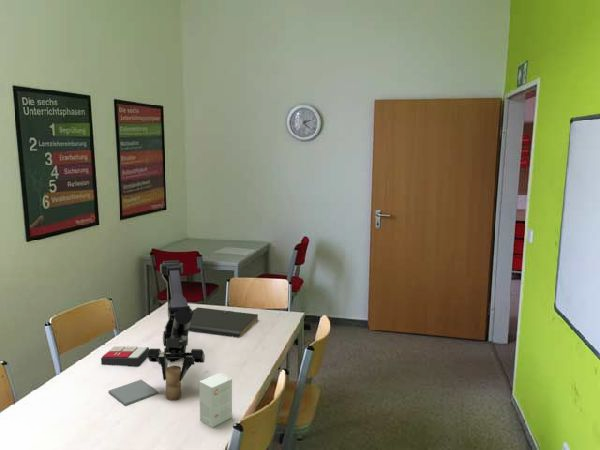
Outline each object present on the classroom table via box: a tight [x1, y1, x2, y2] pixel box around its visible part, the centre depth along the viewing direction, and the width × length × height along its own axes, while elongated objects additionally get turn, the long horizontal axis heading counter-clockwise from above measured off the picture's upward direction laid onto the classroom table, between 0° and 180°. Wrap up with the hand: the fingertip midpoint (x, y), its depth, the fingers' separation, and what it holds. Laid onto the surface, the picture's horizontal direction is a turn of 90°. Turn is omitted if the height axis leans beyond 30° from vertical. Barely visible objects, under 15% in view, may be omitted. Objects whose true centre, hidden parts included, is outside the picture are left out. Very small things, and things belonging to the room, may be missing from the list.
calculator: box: [100, 345, 150, 368], centre depth 191 cm, size 11×4×15 cm
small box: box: [198, 372, 233, 429], centre depth 149 cm, size 8×6×13 cm
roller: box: [165, 365, 182, 401], centre depth 162 cm, size 5×5×10 cm
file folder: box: [189, 306, 259, 338], centre depth 232 cm, size 33×4×24 cm
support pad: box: [108, 379, 160, 407], centre depth 165 cm, size 12×12×1 cm
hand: (172, 380), depth 161 cm, fingers closed on roller, 5 cm apart
